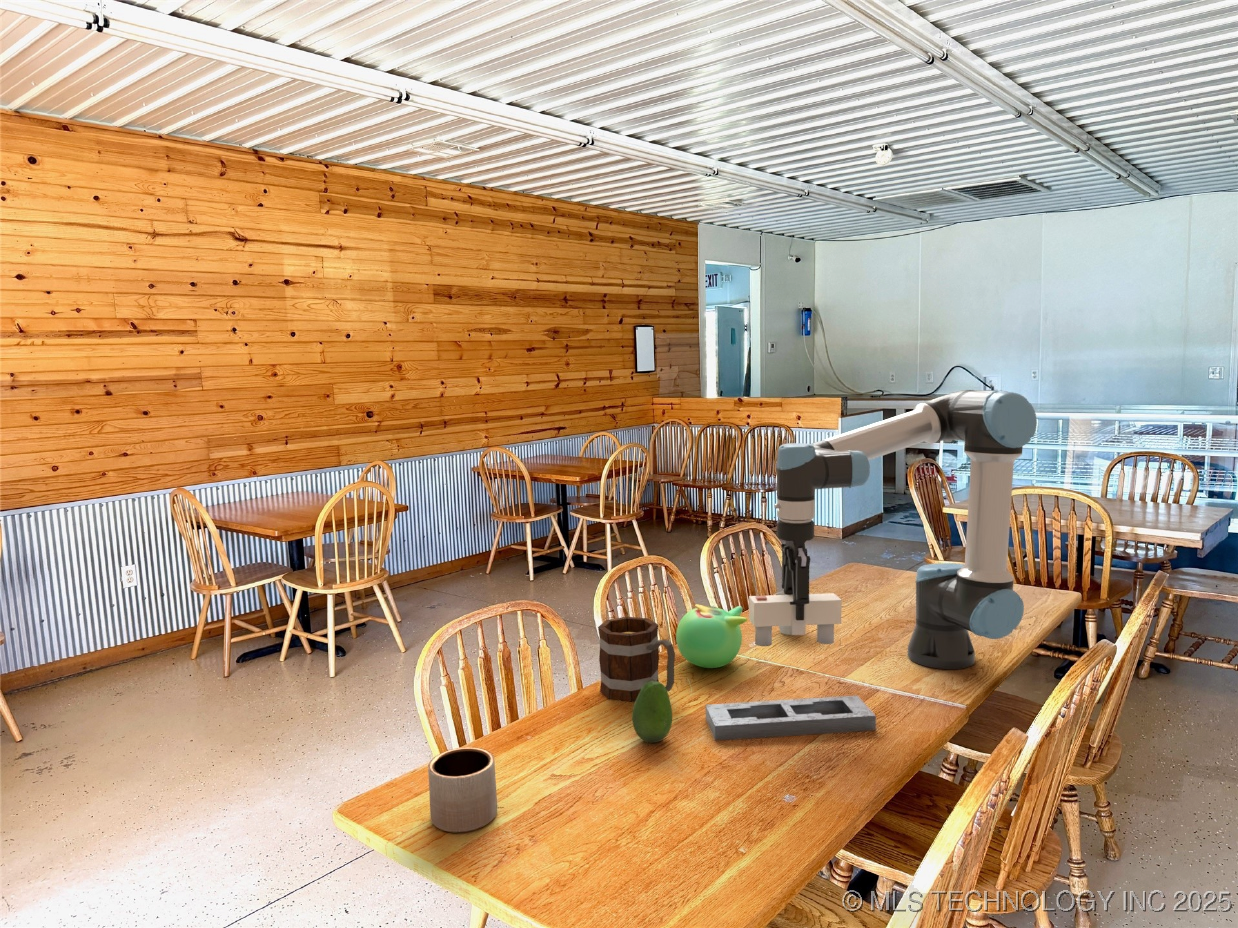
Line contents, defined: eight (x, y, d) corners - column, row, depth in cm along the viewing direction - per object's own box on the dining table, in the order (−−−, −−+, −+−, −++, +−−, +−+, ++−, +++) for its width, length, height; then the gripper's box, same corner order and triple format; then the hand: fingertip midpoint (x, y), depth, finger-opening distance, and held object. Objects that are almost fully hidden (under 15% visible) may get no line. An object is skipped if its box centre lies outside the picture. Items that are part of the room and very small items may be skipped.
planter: (435, 801, 142) (432, 748, 141) (499, 797, 143) (496, 744, 142) (426, 837, 131) (422, 780, 130) (495, 832, 132) (492, 775, 131)
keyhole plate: (857, 708, 174) (857, 695, 173) (875, 730, 164) (875, 715, 164) (705, 718, 171) (705, 704, 171) (715, 740, 161) (714, 725, 161)
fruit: (625, 735, 165) (623, 677, 163) (661, 727, 168) (660, 670, 166) (642, 752, 157) (641, 692, 156) (680, 744, 160) (678, 684, 159)
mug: (587, 691, 187) (585, 627, 185) (627, 674, 197) (626, 612, 195) (654, 715, 174) (652, 646, 172) (693, 695, 184) (692, 629, 182)
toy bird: (675, 651, 211) (674, 595, 209) (742, 650, 210) (741, 594, 208) (678, 678, 193) (676, 617, 191) (751, 677, 192) (750, 616, 191)
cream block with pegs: (833, 636, 176) (834, 590, 175) (840, 644, 171) (841, 597, 170) (749, 639, 175) (749, 593, 174) (754, 648, 170) (754, 600, 169)
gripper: (767, 512, 178) (766, 617, 181) (788, 528, 161) (787, 645, 163) (801, 511, 179) (801, 615, 182) (826, 527, 161) (825, 643, 164)
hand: (794, 629), depth 173 cm, fingers closed on cream block with pegs, 5 cm apart
